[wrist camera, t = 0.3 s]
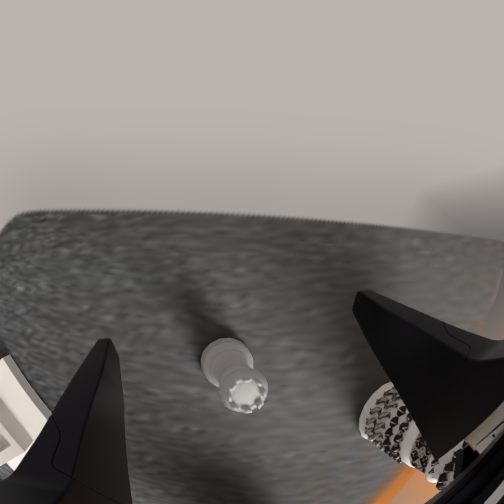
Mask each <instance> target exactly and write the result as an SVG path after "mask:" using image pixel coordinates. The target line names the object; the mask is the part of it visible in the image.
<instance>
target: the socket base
mask: <svg viewBox="0 0 504 504" xmlns="http://www.w3.org/2000/svg"><path fill="white" fill-rule="evenodd" d="M50 415H52V413H51V411H50V410H49V409H48V408H47V406H46V405H45V404H44V403H43V401H42V400H41V399H40V398H39V396H38V395H37V394H36V392H35V391H34V390H33V388H32V387H31V385H30V384H29V383H28V381H27V380H26V378H25V377H24V375H23V374H22V373H21V371H20V370H19V368H18V366H17V365H16V363H15V362H14V360H13V359H12V357H11V355H10V354H9V355H7V356H5V357H3V358H2V359H1V360H0V466H1V465H3V464H5V463H7V464H8V465H9V466H10V467H11V468H12V469H13V470H14V471H15V469H16V468H17V466H18V465H19V463H20V462H21V460H22V459H23V457H24V456H25V454H26V453H27V452H28V450H29V449H30V447H31V446H32V444H33V443H34V441H35V440H36V438H37V437H38V435H39V434H40V432H41V430H42V429H43V427H44V425H45V424H46V422H47V420H48V418H49V417H50Z"/></svg>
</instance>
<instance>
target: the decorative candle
mask: <svg viewBox="0 0 504 504" xmlns="http://www.w3.org/2000/svg"><path fill="white" fill-rule="evenodd" d="M358 428H359V431H360V433H361V436H362V437H364V438H366V439H367V441H373V443H372V445H375V447H378V446H380V450H381V451H383V450H384V452H385V453H386V454H389V456H390V457H393V459H395V460H397V462H398V463H405V464H407V465H409V466H410V467H413V468H416V469H418V470H420V471H421V472H423V473H425V476H426V480H427V481H429V482H432V483H435V482H437V485H436V488H437V489H438V490H443V489H444V488H445V487H446V486H447V485H449V484H450V483H451V482H452V481H453V480H454V479H453V475H454V469H455V462H456V454H457V453H459V452H460V451H461V450H462V449H463V448H464V447H465V446H466V445H467V444H468V443H467V442H466V440H465V439H464V440H463V441H461V442H460V443H459V444H458V445H457V446H455V447H454V448H453V449H452V450H450V451H449V452H448V453H446V454H445V455H444V456H442V457H441V458H440V459H438V460H437V461H435V459H434V458H433V456H432V454H431V452H430V450H429V448H428V446H427V445H426V443H425V441H424V439H423V437H422V435H421V433H420V432H419V430H418V428H417V426H416V424H415V422H414V420H413V419H412V417H411V415H410V413H409V412H408V410H407V408H406V406H405V404H404V403H403V401H402V399H401V397H400V396H399V394H398V392H397V391H396V389H395V387H394V385H393V384H392V382H389V383H386V384H384V385H382V386H381V387H380V388H379V389H378V390H376V391H375V392H374V393H373V394H372V395H371V397H370V398H369V400H368V401H367V402H366V404H365V405H364V407H363V410H362V412H361V415H360V417H359V427H358ZM501 504H504V501H503V502H502V503H501Z"/></svg>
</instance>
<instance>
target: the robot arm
mask: <svg viewBox="0 0 504 504" xmlns="http://www.w3.org/2000/svg"><path fill="white" fill-rule="evenodd" d="M353 313H354V316H355V318H356V320H357V322H358V324H359V326H360V328H361V330H362V332H363V334H364V336H365V338H366V340H367V342H368V344H369V346H370V347H371V349H372V351H373V352H374V354H375V355H376V357H377V359H378V360H379V362H380V364H381V365H382V367H383V369H384V370H385V372H386V374H387V375H388V377H389V379H390V380H391V382H392V384H393V385H394V387H395V389H396V391H397V392H398V394H399V396H400V397H401V399H402V401H403V403H404V404H405V406H406V408H407V410H408V412H409V413H410V415H411V417H412V419H413V420H414V422H415V424H416V426H417V428H418V430H419V432H420V433H421V435H422V437H423V439H424V441H425V443H426V445H427V446H428V448H429V450H430V452H431V454H432V456H433V458H434V459H435V461H437V460H438V459H440V458H441V457H442V456H444V455H445V454H446V453H448V452H449V451H450V450H452V449H453V448H454V447H455V446H457V445H458V444H459V443H460V442H461V441H463V440H464V439H465V440H466V442H467V443H468V444H467V445H466V446H465V447H464V448H463V449H462V450H461V451H460V452H459V453H457V454H456V462H455V469H454V475H453V479H454V480H453V481H452V482H451V483H450V484H449V485H447V486H446V487H445V488H444V489H443V490H441V492H439V493H438V494H437V495H435V496H434V497H433V498H432V499H430V500H429V501H428V502H426V503H425V504H501V503H502V502H503V501H504V340H491V339H488V338H485V337H482V336H479V335H476V334H473V333H471V332H468V331H465V330H462V329H460V328H457V327H455V326H452V325H450V324H447V323H445V322H443V321H442V322H441V321H440V320H438V319H436V318H434V317H431V316H429V315H427V314H424V313H422V312H420V311H417V310H415V309H413V308H410V307H408V306H406V305H403V304H401V303H398V302H396V301H394V300H391V299H389V298H387V297H384V296H382V295H380V294H377V293H375V292H373V291H370V290H368V289H365V290H361V291H358V292H357V294H356V297H355V301H354V304H353ZM0 504H132V497H131V490H130V483H129V475H128V466H127V455H126V442H125V424H124V399H123V391H122V383H121V373H120V363H119V357H118V354H117V352H116V349H115V347H114V345H113V343H112V341H111V339H109V338H105V339H99V340H98V341H97V342H96V344H95V345H94V347H93V348H92V350H91V351H90V353H89V354H88V356H87V357H86V359H85V360H84V362H83V363H82V365H81V366H80V368H79V369H78V371H77V372H76V374H75V376H74V377H73V379H72V380H71V382H70V383H69V385H68V387H67V388H66V390H65V392H64V393H63V395H62V396H61V398H60V400H59V401H58V403H57V405H56V406H55V408H54V410H53V412H52V415H50V417H49V418H48V420H47V422H46V424H45V425H44V427H43V429H42V430H41V432H40V434H39V435H38V437H37V438H36V440H35V441H34V443H33V444H32V446H31V447H30V449H29V450H28V452H27V453H26V454H25V456H24V457H23V459H22V460H21V462H20V463H19V465H18V466H17V468H16V469H15V471H14V472H13V473H12V474H11V475H10V476H9V477H8V478H6V479H4V480H2V481H0Z"/></svg>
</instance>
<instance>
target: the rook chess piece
mask: <svg viewBox="0 0 504 504" xmlns="http://www.w3.org/2000/svg"><path fill="white" fill-rule="evenodd" d="M201 369H202V371H203V372H204V374H205V376H206V378H207V379H208V381H210V382H211V383H212V384H214V385H215V386H217V387H219V396H220V399H221V401H222V403H223V404H224V405H225V406H226V407H227V408H229V409H230V410H233V411H237V412H244V413H252V409H254V408H256V407H258V408H259V409H260V408H261V407H262V405H263V404H264V403H263V401H264V400H265V398H266V397H267V393H268V383H267V381H266V379H265V377H264V375H262V374H261V373H260V372H258V371H257V370H254V369H253V357H252V355H251V353H250V351H249V350H248V348H247V347H246V346H245V345H244V344H243V343H242V342H241V341H239V340H236V339H232V338H220V339H218V340H216V341H214V342H212V343H210V344H209V345H208V346H207V347H206V349H205V350H204V351H203V354H202V357H201Z"/></svg>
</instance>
